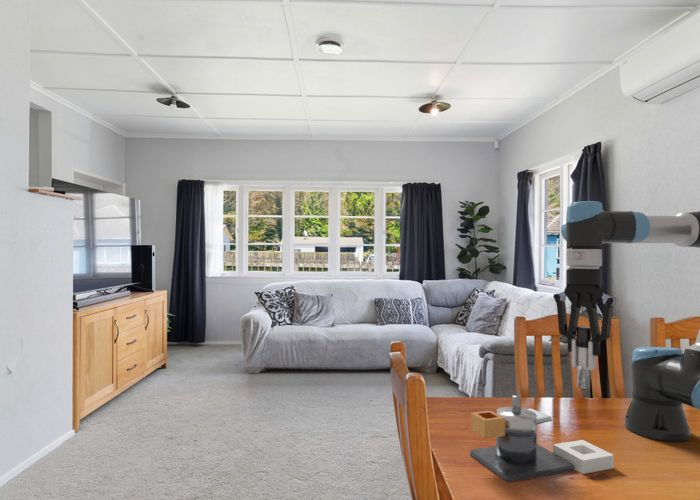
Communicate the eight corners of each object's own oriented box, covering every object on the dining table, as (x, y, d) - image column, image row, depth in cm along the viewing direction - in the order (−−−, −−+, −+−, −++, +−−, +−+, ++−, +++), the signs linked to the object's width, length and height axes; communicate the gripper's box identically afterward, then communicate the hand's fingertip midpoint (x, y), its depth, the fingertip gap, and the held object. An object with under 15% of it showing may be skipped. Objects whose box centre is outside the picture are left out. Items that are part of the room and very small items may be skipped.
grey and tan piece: (519, 420, 116) (519, 389, 116) (545, 433, 107) (545, 400, 107) (466, 427, 111) (466, 394, 111) (489, 441, 102) (489, 406, 102)
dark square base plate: (531, 445, 118) (531, 418, 118) (574, 470, 105) (574, 439, 105) (470, 454, 112) (470, 425, 112) (507, 482, 99) (507, 449, 99)
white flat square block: (582, 451, 114) (582, 439, 114) (613, 468, 106) (613, 455, 106) (553, 456, 112) (553, 444, 112) (582, 473, 103) (582, 460, 103)
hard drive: (520, 422, 131) (551, 415, 137) (499, 413, 139) (529, 407, 144) (520, 428, 131) (551, 421, 137) (499, 418, 139) (529, 412, 144)
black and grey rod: (583, 384, 111) (583, 326, 111) (593, 388, 108) (593, 328, 108) (573, 385, 110) (573, 326, 110) (583, 389, 107) (583, 328, 107)
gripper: (543, 267, 112) (542, 364, 112) (617, 269, 101) (617, 377, 101) (555, 266, 117) (554, 359, 117) (626, 268, 106) (626, 371, 106)
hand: (583, 367), depth 109 cm, fingers closed on black and grey rod, 3 cm apart
